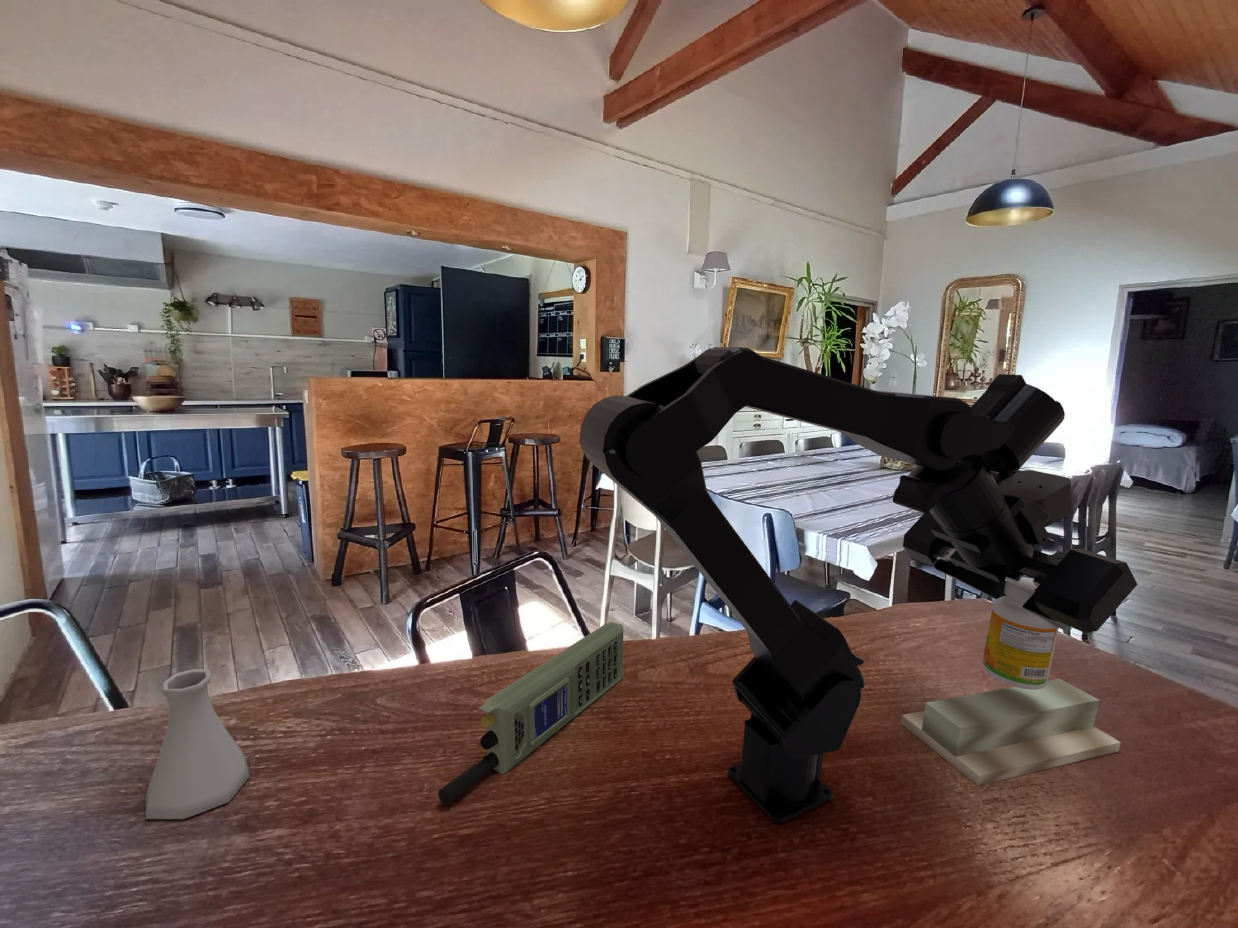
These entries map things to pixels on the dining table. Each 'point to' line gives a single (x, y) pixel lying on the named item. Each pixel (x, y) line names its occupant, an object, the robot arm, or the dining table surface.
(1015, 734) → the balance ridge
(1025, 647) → the supplement bottle
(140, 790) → the dining table surface
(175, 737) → the flask
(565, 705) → the handheld radio
